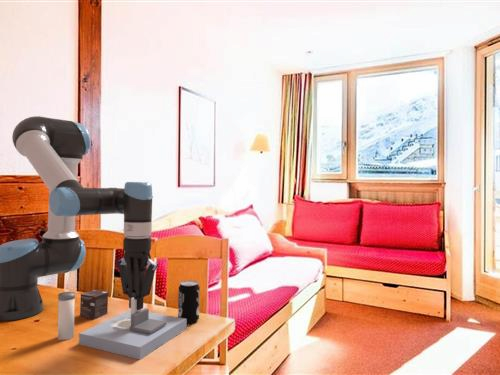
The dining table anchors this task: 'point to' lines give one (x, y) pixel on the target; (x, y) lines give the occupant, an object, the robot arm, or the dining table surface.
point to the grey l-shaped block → (145, 322)
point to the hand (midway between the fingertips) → (135, 320)
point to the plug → (66, 315)
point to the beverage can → (188, 301)
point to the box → (94, 304)
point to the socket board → (131, 335)
